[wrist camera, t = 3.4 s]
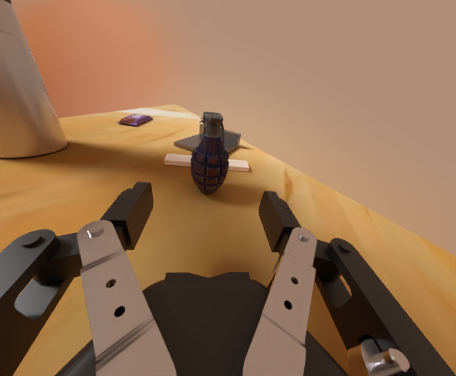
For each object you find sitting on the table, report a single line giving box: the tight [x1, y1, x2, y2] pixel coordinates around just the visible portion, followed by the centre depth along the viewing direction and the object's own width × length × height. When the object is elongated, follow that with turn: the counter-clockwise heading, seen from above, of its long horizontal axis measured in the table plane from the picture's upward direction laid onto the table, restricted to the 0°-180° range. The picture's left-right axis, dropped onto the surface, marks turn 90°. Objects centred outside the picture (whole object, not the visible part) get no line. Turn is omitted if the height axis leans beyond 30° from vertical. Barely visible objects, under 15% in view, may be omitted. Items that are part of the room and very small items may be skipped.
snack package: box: [117, 114, 152, 126], centre depth 47 cm, size 12×2×5 cm
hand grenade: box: [191, 112, 229, 194], centre depth 21 cm, size 6×5×10 cm
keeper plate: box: [174, 124, 241, 153], centre depth 37 cm, size 11×11×3 cm
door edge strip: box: [164, 153, 249, 172], centre depth 30 cm, size 15×3×1 cm, turn 95°
